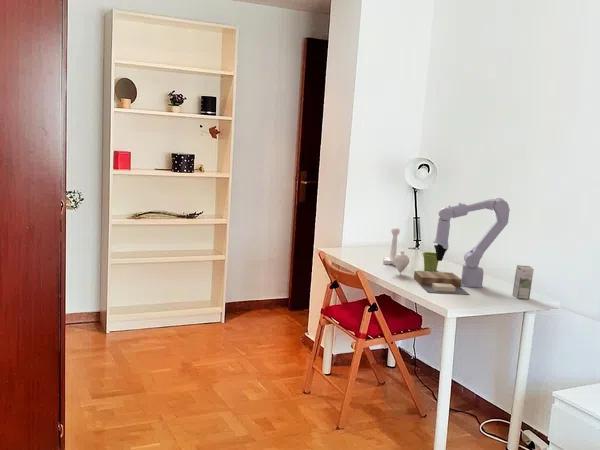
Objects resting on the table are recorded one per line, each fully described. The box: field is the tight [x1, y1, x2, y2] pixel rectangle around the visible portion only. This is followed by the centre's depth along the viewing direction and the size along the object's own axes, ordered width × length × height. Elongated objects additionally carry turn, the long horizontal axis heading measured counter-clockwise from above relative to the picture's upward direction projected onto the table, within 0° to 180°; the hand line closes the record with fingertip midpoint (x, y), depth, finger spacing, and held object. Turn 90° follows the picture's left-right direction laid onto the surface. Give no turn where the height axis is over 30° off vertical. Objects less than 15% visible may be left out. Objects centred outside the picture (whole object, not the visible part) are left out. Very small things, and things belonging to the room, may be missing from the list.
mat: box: [420, 285, 470, 296], centre depth 285 cm, size 19×12×1 cm, turn 95°
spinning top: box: [394, 250, 410, 275], centre depth 308 cm, size 8×8×12 cm
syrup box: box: [512, 264, 535, 300], centre depth 281 cm, size 6×6×14 cm
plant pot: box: [422, 251, 439, 272], centre depth 323 cm, size 9×9×9 cm
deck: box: [413, 270, 462, 288], centre depth 297 cm, size 19×13×4 cm
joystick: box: [382, 226, 401, 267], centre depth 330 cm, size 11×8×20 cm
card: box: [432, 283, 456, 292], centre depth 285 cm, size 9×6×2 cm, turn 95°
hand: (439, 260), depth 299 cm, fingers closed
